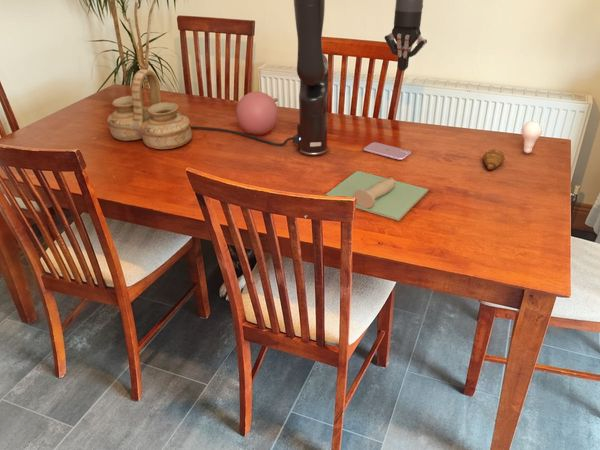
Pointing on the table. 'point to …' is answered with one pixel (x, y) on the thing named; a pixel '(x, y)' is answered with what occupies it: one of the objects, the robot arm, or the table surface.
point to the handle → (374, 192)
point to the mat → (386, 205)
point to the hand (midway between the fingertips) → (402, 69)
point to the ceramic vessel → (149, 117)
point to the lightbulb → (530, 135)
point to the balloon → (257, 113)
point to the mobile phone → (387, 151)
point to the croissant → (493, 159)
